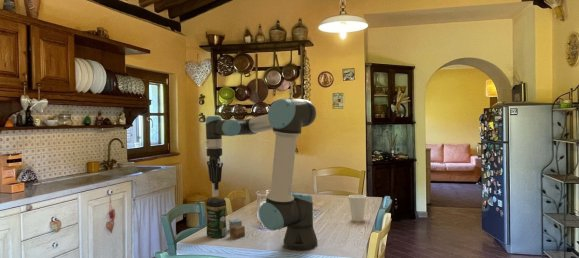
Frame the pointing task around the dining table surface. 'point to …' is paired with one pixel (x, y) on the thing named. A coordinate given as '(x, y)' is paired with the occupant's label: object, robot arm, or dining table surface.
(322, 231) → the dining table surface
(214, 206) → the coffee jar
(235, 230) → the walnut block
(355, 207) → the foam cup
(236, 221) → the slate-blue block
